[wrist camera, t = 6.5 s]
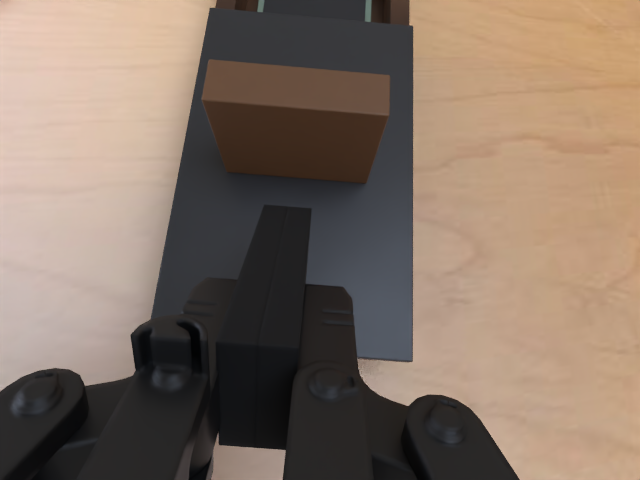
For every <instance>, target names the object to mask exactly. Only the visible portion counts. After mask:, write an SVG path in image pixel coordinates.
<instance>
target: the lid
mask: <svg viewBox="0 0 640 480" xmlns="http://www.w3.org/2000/svg"><path fill="white" fill-rule="evenodd" d="M264 204H265V205H277V206H289V207H301V208H312V211H311V224H310V237H309V249H308V262H307V275H306V284H316V285H328V286H341V287H344V288H345V290H346V291H347V292H348V294H349V295H350V296H351V298H352V302H353V315H354V326H355V338H356V350H357V359H369V360H383V361H396V362H412V361H413V26H410V25H398V24H387V23H376V22H365V21H354V20H343V19H332V18H321V17H309V16H298V15H287V14H276V13H265V12H254V11H243V10H231V9H220V8H210V11H209V16H208V21H207V26H206V32H205V37H204V42H203V47H202V53H201V58H200V63H199V68H198V74H197V79H196V84H195V89H194V95H193V100H192V105H191V110H190V116H189V121H188V126H187V131H186V137H185V142H184V147H183V152H182V158H181V163H180V168H179V173H178V179H177V184H176V189H175V194H174V200H173V205H172V210H171V215H170V221H169V226H168V231H167V236H166V242H165V247H164V252H163V257H162V263H161V268H160V273H159V278H158V284H157V289H156V294H155V299H154V305H153V310H152V315H151V319H154V318H158V317H161V316H165V315H180V314H181V311H182V309H183V307H184V305H185V303H187V299H188V297H189V295H190V293H191V291H192V289H193V287H195V286H196V285H197V284H199V283H200V282H201V281H203V280H204V279H205V278H207V277H210V278H223V279H235V280H238V277H239V274H240V271H241V268H242V266H243V263H244V260H245V257H246V254H247V252H248V249H249V246H250V243H251V240H252V237H253V235H254V232H255V229H256V226H257V223H258V221H259V218H260V215H261V212H262V209H263V207H264Z"/></svg>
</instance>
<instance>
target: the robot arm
mask: <svg viewBox="0 0 640 480" xmlns="http://www.w3.org/2000/svg"><path fill="white" fill-rule="evenodd" d="M311 211H312V208H301V207H289V206H277V205H265V204H264V207H263V209H262V212H261V215H260V218H259V221H258V223H257V226H256V229H255V232H254V235H253V237H252V240H251V243H250V246H249V249H248V252H247V254H246V257H245V260H244V263H243V266H242V268H241V271H240V274H239V277H238V280H235V279H223V278H210V277H207V278H205V279H204V280H203V281H201V282H200V283H199V284H197V285H196V286H195V287H193V289H192V291H191V293H190V295H189V297H188V299H187V303H185V305H184V307H183V309H182V311H181V314H180V315H165V316H161V317H158V318H154V319H151V320H149V321H147V322H145V323H144V324H142V325H140V326H139V327H138V328H137V329H136V330H135V331H134V332H133V333H132V334H131V342H132V348H133V355H134V362H135V369H136V371H135V373H134V375H133V376H131V377H128V378H126V379H122V380H118V381H113V382H107V383H101V384H95V385H89V386H84V383H83V381H82V379H81V377H80V375H79V374H77V373H75V372H73V371H71V370H68V369H58V368H53V369H47V370H40V371H37V372H34V373H31V374H29V375H26V376H23V377H21V378H20V379H18V380H16V381H15V382H13V383H12V384H10V385H9V386H7V387H6V388H4V389H3V390H2V391H1V392H0V480H211V477H212V473H213V449H214V445H215V442H216V438H217V434H218V433H219V445H225V446H239V447H253V448H267V449H281V450H286V455H285V464H284V474H283V480H520V479H519V478H518V476H517V475H516V473H515V472H514V470H513V469H512V467H511V466H510V464H509V463H508V461H507V460H506V458H505V457H504V455H503V454H502V452H501V451H500V449H499V448H498V446H497V445H496V443H495V441H494V440H493V438H492V437H491V435H490V434H489V432H488V431H487V429H486V428H485V426H484V425H483V423H482V422H481V420H480V419H479V418H478V417H477V416H476V415H475V413H474V412H473V411H472V410H471V409H470V408H469V407H467V406H465V405H464V404H462V403H461V402H459V401H458V400H455V399H452V398H449V397H446V396H443V395H426V396H423V397H419V398H417V399H416V400H415V401H414V402H413V403H411V404H410V405H409V407H408V406H405V405H403V404H400V403H397V402H394V401H391V400H389V399H386V398H384V397H382V396H380V395H378V394H377V393H375V392H374V391H372V390H371V389H370V388H369V387H368V386H367V385H366V384H365V383H364V381H363V380H362V378H361V376H360V374H359V370H358V362H357V350H356V338H355V326H354V315H353V302H352V298H351V296H350V295H349V294H348V292H347V291H346V290H345V288H344V287H341V286H328V285H316V284H306V275H307V262H308V249H309V237H310V224H311Z"/></svg>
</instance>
